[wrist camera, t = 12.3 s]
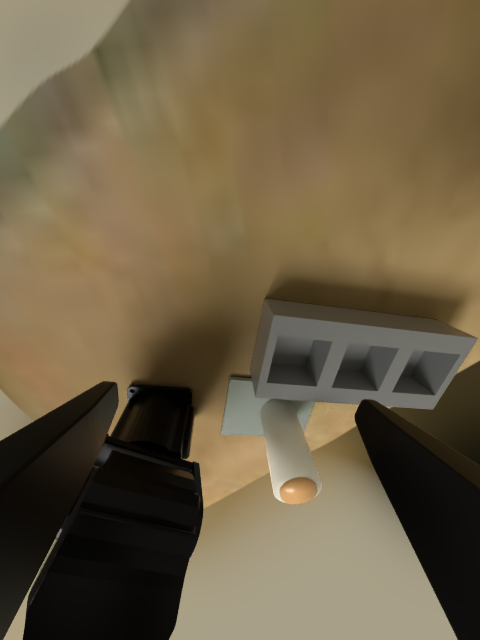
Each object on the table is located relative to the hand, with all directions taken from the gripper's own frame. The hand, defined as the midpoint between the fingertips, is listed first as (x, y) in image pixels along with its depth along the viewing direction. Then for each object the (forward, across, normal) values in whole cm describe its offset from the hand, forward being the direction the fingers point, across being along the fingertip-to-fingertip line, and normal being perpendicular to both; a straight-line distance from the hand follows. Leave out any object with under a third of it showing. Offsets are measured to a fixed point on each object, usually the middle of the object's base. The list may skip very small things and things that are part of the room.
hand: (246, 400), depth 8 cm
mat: (+13, -6, +13) cm, 19 cm away
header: (+13, -12, +4) cm, 18 cm away
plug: (+12, -7, +13) cm, 19 cm away
